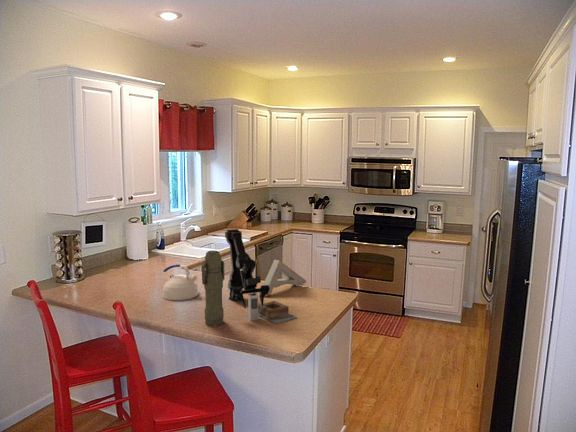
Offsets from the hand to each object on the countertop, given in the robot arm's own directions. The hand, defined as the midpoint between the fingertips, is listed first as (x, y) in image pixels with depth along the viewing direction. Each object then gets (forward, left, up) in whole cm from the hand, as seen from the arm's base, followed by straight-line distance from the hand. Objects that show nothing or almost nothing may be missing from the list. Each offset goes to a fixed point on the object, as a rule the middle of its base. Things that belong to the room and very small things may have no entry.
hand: (254, 306), depth 221 cm
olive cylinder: (+16, -10, -7) cm, 20 cm away
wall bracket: (-45, -27, -7) cm, 53 cm away
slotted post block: (-11, +1, -7) cm, 13 cm away
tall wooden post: (-1, -1, -7) cm, 7 cm away
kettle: (+6, -60, -7) cm, 61 cm away
